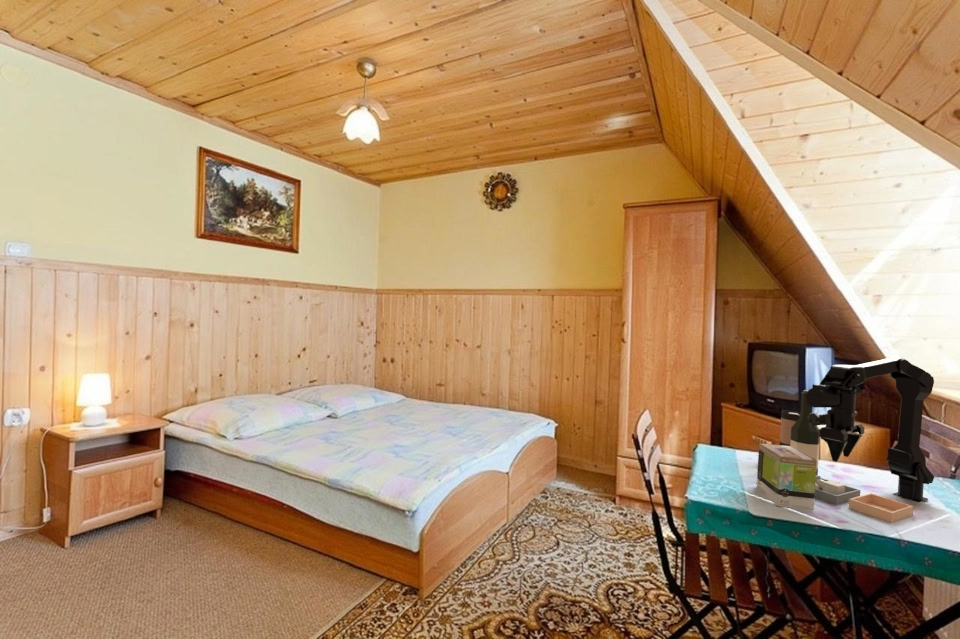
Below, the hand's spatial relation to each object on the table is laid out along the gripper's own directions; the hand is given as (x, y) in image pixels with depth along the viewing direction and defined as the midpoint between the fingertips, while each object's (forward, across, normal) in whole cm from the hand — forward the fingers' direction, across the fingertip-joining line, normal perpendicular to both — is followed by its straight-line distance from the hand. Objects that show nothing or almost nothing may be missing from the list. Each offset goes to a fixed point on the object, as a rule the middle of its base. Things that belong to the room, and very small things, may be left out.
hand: (840, 458), depth 139 cm
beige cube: (+12, -1, -2) cm, 12 cm away
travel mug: (+13, -24, -22) cm, 35 cm away
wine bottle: (+13, -14, -14) cm, 24 cm away
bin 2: (+13, 0, +10) cm, 16 cm away
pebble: (+12, +1, -7) cm, 14 cm away
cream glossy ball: (+12, -4, -6) cm, 14 cm away
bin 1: (+13, -2, -8) cm, 15 cm away
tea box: (+13, +14, -9) cm, 21 cm away
